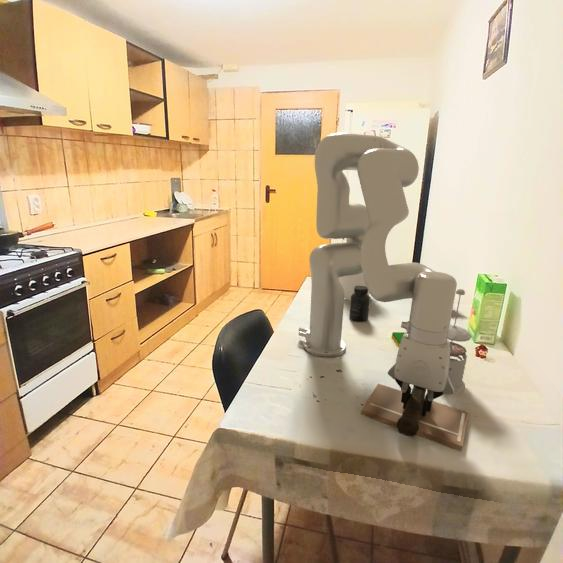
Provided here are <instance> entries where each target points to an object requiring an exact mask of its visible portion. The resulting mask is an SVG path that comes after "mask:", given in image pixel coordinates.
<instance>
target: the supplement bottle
mask: <svg viewBox="0 0 563 563" xmlns="http://www.w3.org/2000/svg"><path fill="white" fill-rule="evenodd" d="M370 296H371V295H370V294H369V295H368V289H367V287H365V286H355V287H354V293H353V294H352V295H351V300H349V301H350V302H349V304H350V305H349V312H348V313H349V315H348V316H349V319H350V320H351V321H353V322H357V323H365V322H367V321H368V319H369V313H370V304H371V303H370V302H371V297H370Z"/></svg>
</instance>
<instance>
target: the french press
mask: <svg viewBox="0 0 563 563" xmlns="http://www.w3.org/2000/svg"><path fill="white" fill-rule="evenodd" d="M465 294H466V291H465V289H463V288H459V289H456V293H455V295H459V296H458V302H457V307H456V314H455V318H454V324H450V326H449V332H448V338H447V340H448V341H449V340H450V341H449V342H450V365H449V373H448V376H449V378H450V380H451V383H452V385H453V387H454V393H453V394H455V393H461V392H464V390H465V389H466V387H465V386H466V384H465V382H464V380H463V378H464V374H465V369H466V363H467V358H468V356H467V354H466V353H467V349H466V347H464V346H463V345H461V344H459V343H460V342H461V343H462V342H468V341H470V340H471V339H472V333H470V332H469V331H468V330H467V329H466V328H463V327H461V326H458V325H456V323H457V317H458V312H459V307H460V300H461V296H465ZM456 342H459V343H456ZM451 357H452V358H451ZM453 357H454V358H453ZM458 359H459V360H458Z"/></svg>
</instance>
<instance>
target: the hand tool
mask: <svg viewBox="0 0 563 563" xmlns="http://www.w3.org/2000/svg"><path fill="white" fill-rule="evenodd" d="M426 393H427V389H424V388H421V387H418V386H415V385H413V387H412V388H411V395H410V397H409V399H408V402H407V404H406V407H405V409H404V412H403V414H402V417H400V418H399V420H398V421H397V427H395V428H396V430H397V431H398V433H399V434H401V435H404V436H407V437H413V438H414V437H416V436H417V435H416V434H417V431H418V430H419V425H418V422H419V419H420V417H421V416H420V415H421V413H422V406H423V402H424V398H425V396H426Z"/></svg>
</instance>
